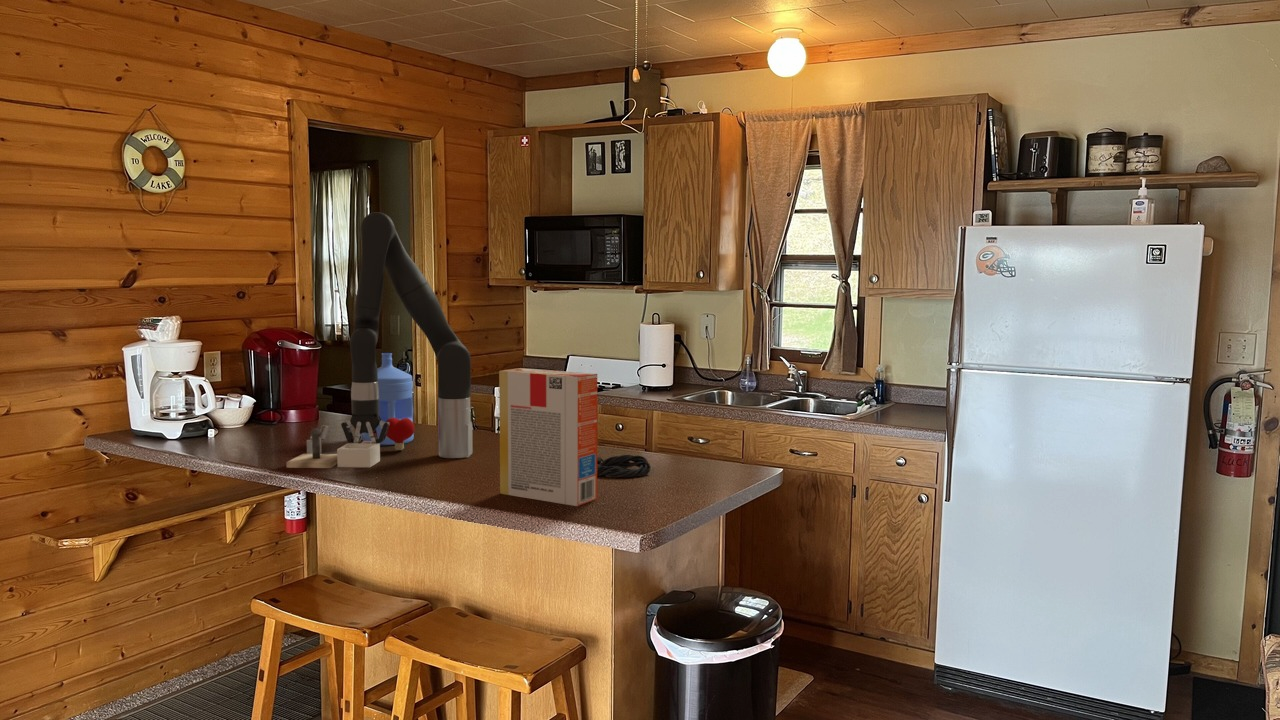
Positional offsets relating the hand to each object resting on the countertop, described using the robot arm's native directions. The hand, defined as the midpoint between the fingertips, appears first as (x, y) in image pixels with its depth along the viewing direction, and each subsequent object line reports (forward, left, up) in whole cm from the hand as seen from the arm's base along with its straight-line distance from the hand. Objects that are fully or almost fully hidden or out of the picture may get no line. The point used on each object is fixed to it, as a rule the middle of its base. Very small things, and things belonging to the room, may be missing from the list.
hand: (366, 456), depth 265 cm
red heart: (-6, -12, -1) cm, 14 cm away
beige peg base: (+12, +6, -1) cm, 14 cm away
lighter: (+17, -8, -1) cm, 19 cm away
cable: (-73, +14, -1) cm, 74 cm away
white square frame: (0, +5, -1) cm, 5 cm away
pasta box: (-57, +42, -1) cm, 71 cm away
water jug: (+2, -28, -1) cm, 29 cm away
